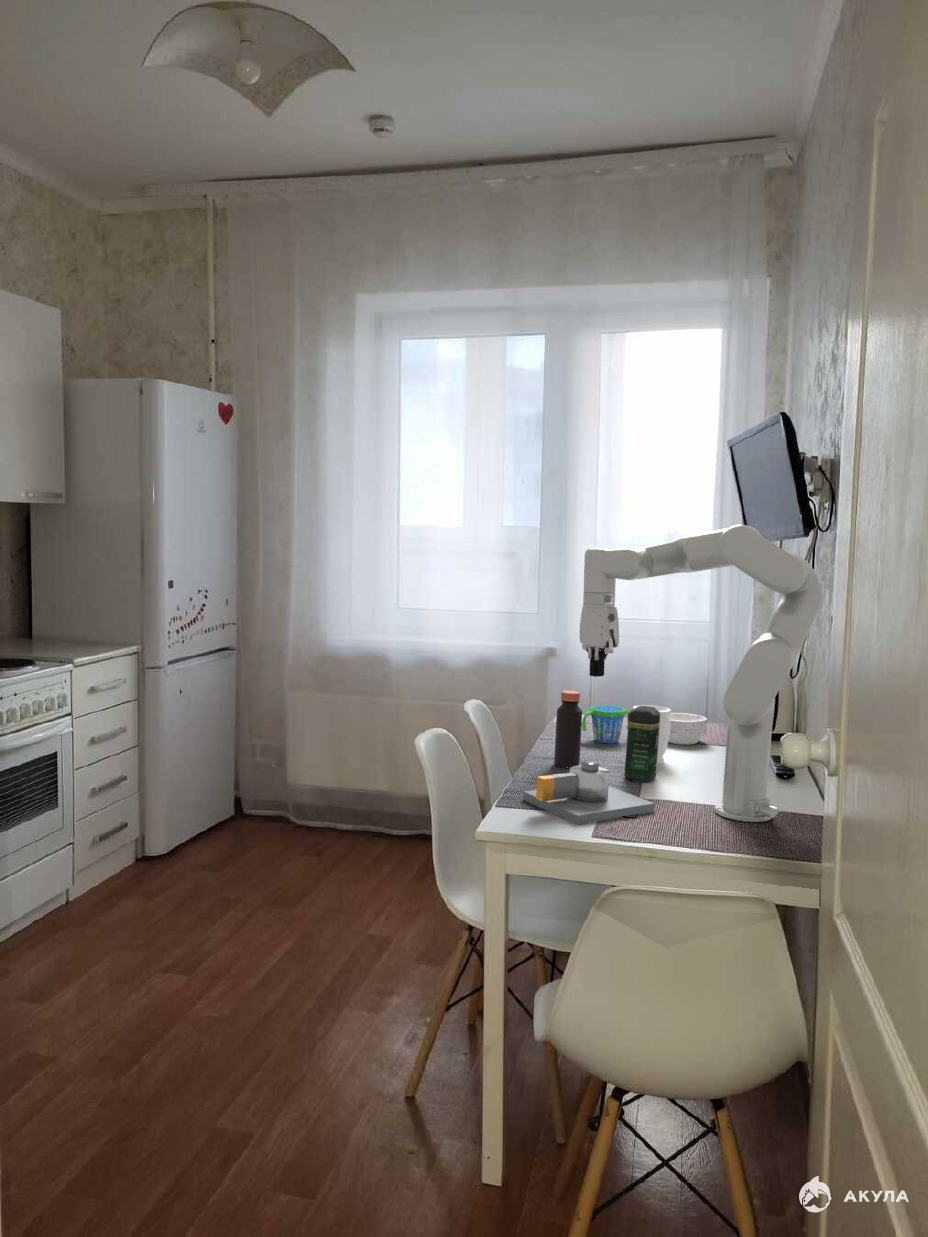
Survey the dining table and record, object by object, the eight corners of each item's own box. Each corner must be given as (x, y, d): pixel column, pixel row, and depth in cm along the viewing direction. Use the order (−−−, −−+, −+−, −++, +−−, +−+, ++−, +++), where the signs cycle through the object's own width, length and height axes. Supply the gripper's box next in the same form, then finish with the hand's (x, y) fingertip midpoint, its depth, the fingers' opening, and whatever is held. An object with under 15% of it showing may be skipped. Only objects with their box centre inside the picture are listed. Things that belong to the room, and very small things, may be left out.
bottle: (553, 761, 255) (557, 689, 253) (578, 763, 255) (582, 690, 253) (554, 768, 248) (558, 693, 246) (580, 769, 248) (584, 694, 246)
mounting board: (653, 812, 212) (654, 803, 211) (577, 824, 200) (578, 815, 200) (596, 789, 228) (597, 781, 228) (523, 800, 217) (523, 791, 217)
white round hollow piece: (651, 735, 295) (653, 710, 294) (700, 737, 295) (701, 712, 294) (659, 746, 280) (661, 720, 279) (710, 748, 279) (712, 722, 279)
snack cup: (586, 745, 277) (588, 711, 276) (576, 737, 287) (578, 704, 286) (636, 745, 279) (638, 712, 278) (625, 737, 290) (627, 705, 289)
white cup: (652, 767, 253) (655, 713, 252) (622, 759, 261) (625, 706, 259) (675, 762, 260) (679, 709, 259) (645, 755, 268) (648, 703, 266)
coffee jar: (653, 784, 236) (657, 711, 234) (621, 780, 238) (626, 708, 236) (658, 775, 245) (663, 705, 243) (628, 771, 247) (632, 702, 246)
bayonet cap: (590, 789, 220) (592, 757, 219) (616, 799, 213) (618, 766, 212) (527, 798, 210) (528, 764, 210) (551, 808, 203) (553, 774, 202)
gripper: (631, 601, 219) (629, 679, 221) (592, 597, 232) (590, 671, 234) (606, 602, 215) (603, 681, 217) (567, 598, 228) (565, 672, 230)
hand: (596, 675), depth 225 cm, fingers closed
